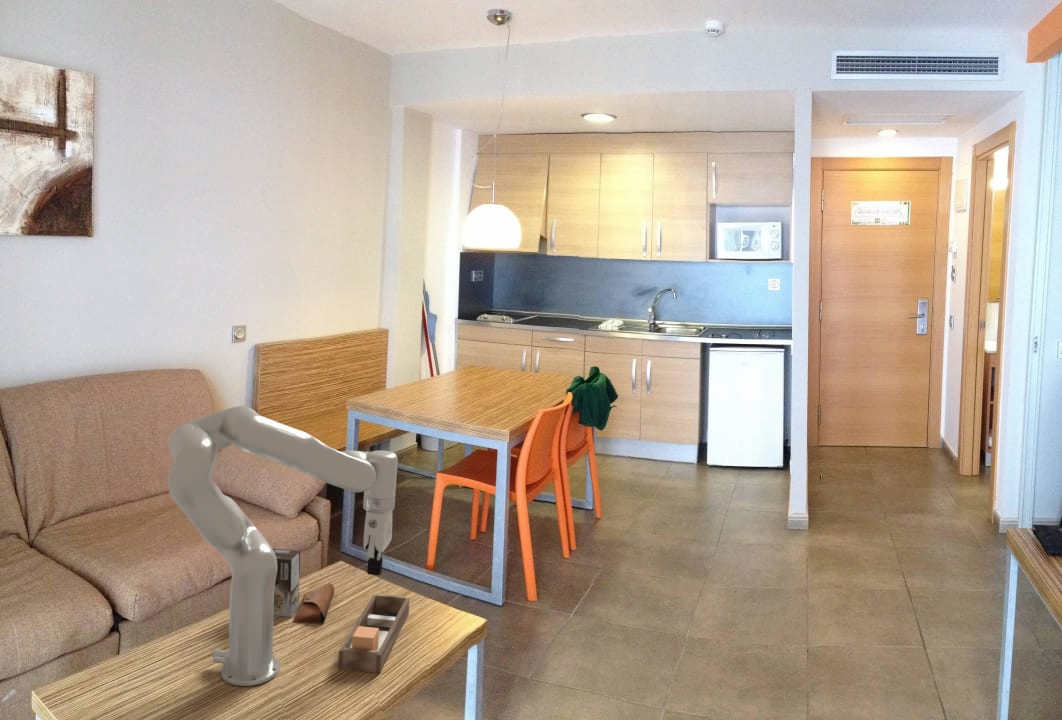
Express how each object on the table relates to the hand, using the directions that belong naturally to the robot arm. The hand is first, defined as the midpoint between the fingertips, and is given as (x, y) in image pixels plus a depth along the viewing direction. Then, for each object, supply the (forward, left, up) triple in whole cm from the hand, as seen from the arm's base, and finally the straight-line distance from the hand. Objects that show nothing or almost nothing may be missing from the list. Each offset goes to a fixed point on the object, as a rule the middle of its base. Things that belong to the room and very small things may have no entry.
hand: (374, 573), depth 196 cm
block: (0, -8, -16) cm, 18 cm away
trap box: (0, +3, -19) cm, 19 cm away
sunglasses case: (-20, +16, -20) cm, 33 cm away
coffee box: (-29, +13, -19) cm, 37 cm away
